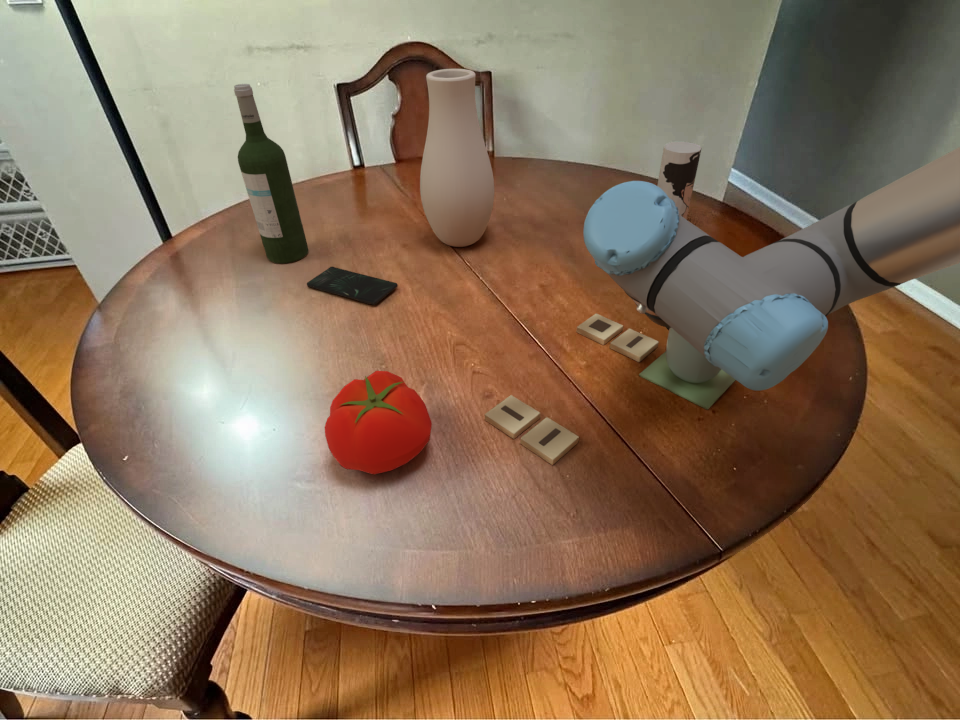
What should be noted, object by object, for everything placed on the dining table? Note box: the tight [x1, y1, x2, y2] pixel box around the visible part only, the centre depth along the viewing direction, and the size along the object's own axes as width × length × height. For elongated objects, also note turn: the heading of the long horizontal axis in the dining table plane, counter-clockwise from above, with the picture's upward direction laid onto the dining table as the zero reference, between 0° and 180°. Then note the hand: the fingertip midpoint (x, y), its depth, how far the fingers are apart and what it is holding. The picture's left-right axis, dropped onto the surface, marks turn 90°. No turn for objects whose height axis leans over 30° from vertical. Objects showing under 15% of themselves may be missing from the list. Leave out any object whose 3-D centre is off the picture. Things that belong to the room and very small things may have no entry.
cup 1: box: [656, 140, 702, 221], centre depth 109 cm, size 7×7×15 cm
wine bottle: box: [233, 83, 309, 265], centre depth 98 cm, size 8×8×30 cm
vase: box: [419, 68, 495, 248], centre depth 100 cm, size 14×14×30 cm
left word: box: [483, 394, 580, 466], centre depth 68 cm, size 11×5×1 cm, turn 45°
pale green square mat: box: [575, 313, 737, 411], centre depth 79 cm, size 22×10×1 cm, turn 45°
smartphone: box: [306, 266, 399, 306], centre depth 96 cm, size 7×1×15 cm
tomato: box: [324, 370, 433, 475], centre depth 64 cm, size 13×12×8 cm
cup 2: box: [665, 328, 722, 383], centre depth 72 cm, size 8×8×10 cm
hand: (708, 340), depth 75 cm, fingers closed on cup 2, 8 cm apart
